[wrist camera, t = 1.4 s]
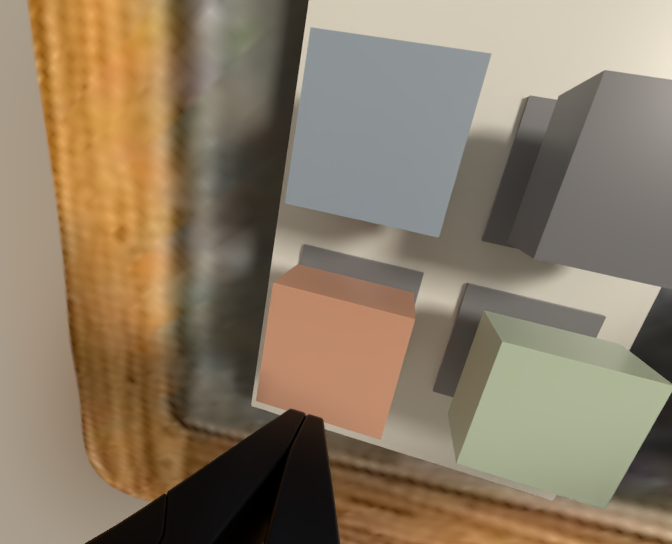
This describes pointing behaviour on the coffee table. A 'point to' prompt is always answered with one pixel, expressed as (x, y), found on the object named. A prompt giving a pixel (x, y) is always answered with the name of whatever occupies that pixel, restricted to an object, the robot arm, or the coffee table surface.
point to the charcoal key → (604, 181)
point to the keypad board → (478, 197)
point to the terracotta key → (335, 348)
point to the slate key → (382, 128)
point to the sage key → (553, 408)
